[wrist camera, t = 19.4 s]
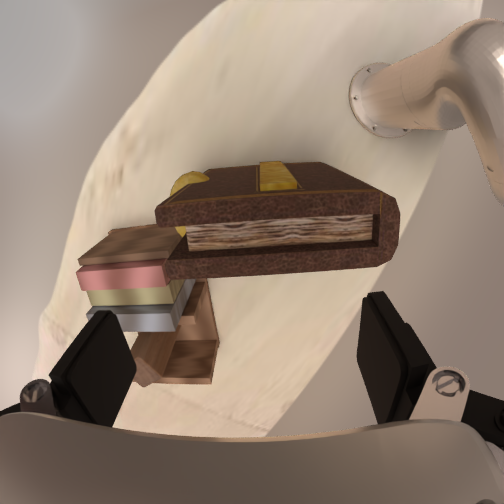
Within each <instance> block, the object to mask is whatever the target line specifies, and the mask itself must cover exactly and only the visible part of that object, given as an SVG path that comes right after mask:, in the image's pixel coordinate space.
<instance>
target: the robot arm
mask: <svg viewBox="0 0 504 504" xmlns="http://www.w3.org/2000/svg"><path fill="white" fill-rule="evenodd" d="M367 70H368V72H367ZM353 97H355V98H356V100H354V99H353ZM349 99H350V104H351V108H352V110H353V113H354V115H355V117H356V118H357V120H358V121H359V122H360V123H361V125H362V126H363V127H364V128H366V129H367V130H368V131H369V132H371V133H373V134H375V135H378V136H381V137H386V138H396V137H401V136H403V135H406V134H407V133H408V132H410V131H411V130H412V129H432V130H453V129H456V128H459V127H461V126H463V125H464V124H467V126H468V129H469V131H470V133H471V134H472V137H473V140H474V142H475V145H476V147H477V150H478V153H479V155H480V158H481V161H482V164H483V167H484V170H485V173H486V176H487V179H488V182H489V185H490V187H491V190H492V192H493V194H494V196H495V198H496V199H497V200H498V202H499V203H500V204H501V205H503V206H504V23H503V22H502V21H499V20H496V19H491V18H481V19H477V20H473V21H470V22H468V23H465V24H464V25H462V26H460V27H459V28H457V29H456V30H454V31H453V32H452V33H451V34H449V35H448V36H447V37H446V38H444V39H443V40H442V41H440V42H439V43H437V44H436V45H434V46H432V47H430V48H428V49H426V50H424V51H422V52H419V53H417V54H415V55H412V56H410V57H408V58H405V59H403V60H401V61H399V62H397V63H394V64H392V65H391V64H386V63H374V64H370V65H368V66H366V67H364V68H362V69H361V70H360V71H359V72H358V73H357V74H356V75H355V76H354V78H353V80H352V82H351V85H350V91H349ZM372 127H374V130H373V129H372ZM403 129H404V130H403ZM357 362H358V365H359V368H360V371H361V374H362V377H363V380H364V382H365V386H366V389H367V392H368V395H369V398H370V401H371V404H372V407H373V410H374V413H375V416H376V420H377V423H378V424H377V425H371V426H365V427H358V428H353V429H345V430H339V431H330V432H321V433H313V434H303V435H293V436H292V435H291V436H276V437H251V438H216V437H192V436H177V435H165V434H156V433H147V432H139V431H131V430H124V429H118V428H112V426H113V424H114V422H115V419H116V417H117V415H118V412H119V410H120V408H121V406H122V403H123V401H124V399H125V396H126V394H127V392H128V390H129V387H130V385H131V383H132V381H133V379H134V376H135V374H136V371H137V366H136V363H135V361H134V358H133V356H132V354H131V351H130V349H129V346H128V344H127V341H126V339H125V336H124V334H123V331H122V328H121V326H120V323H119V320H118V318H117V315H116V314H113V312H112V311H111V310H98V311H96V312H95V314H94V315H93V316H92V317H91V319H90V320H89V321H88V323H87V324H86V325H85V326H84V328H83V329H82V330H81V332H80V333H79V334H78V335H77V337H76V338H75V339H74V341H73V342H72V343H71V345H70V346H69V347H68V349H67V350H66V351H65V353H64V354H63V355H62V357H61V358H60V360H59V361H58V362H57V364H56V365H55V366H54V368H53V369H52V371H51V372H50V373H49V377H50V378H51V380H52V381H51V383H49V382H48V381H47V380H44V379H37V380H33V381H31V382H30V383H28V384H27V385H26V386H25V387H24V388H23V389H22V391H21V394H20V403H18V404H16V405H13V406H11V407H9V408H6V409H4V410H2V411H0V504H504V401H503V400H499V399H496V398H493V397H490V396H487V395H484V394H481V393H478V392H475V391H472V390H470V382H469V379H468V377H467V376H466V374H465V373H463V372H462V371H461V370H459V369H457V368H454V367H448V366H447V367H440V368H436V366H435V364H434V363H433V361H432V359H431V358H430V356H429V354H428V353H427V351H426V349H425V348H424V346H423V345H422V343H421V341H420V340H419V338H418V337H417V335H416V334H415V332H414V330H413V329H412V327H411V326H410V325H409V324H408V323H404V321H403V320H402V318H401V316H400V315H399V313H398V312H397V311H396V309H395V308H394V306H393V304H392V303H391V301H390V300H389V298H388V297H387V295H386V294H385V293H384V292H383V291H380V292H372V293H368V295H367V297H364V298H363V301H362V311H361V321H360V331H359V339H358V348H357Z"/></svg>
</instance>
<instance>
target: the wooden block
mask: <svg viewBox="0 0 504 504" xmlns="http://www.w3.org/2000/svg"><path fill="white" fill-rule="evenodd" d="M180 327H181V325H178V326H177V328H176V331H171V332H138V333H139V335H138V337H137V339H136V341H135V343H134V344H133V346H132V348H131V350H130V351H131V354H132V356H133V358H134V361H135V363H136V366H137V371H136V374H135V376H134V379H133V380H134V381H136V382H137V383H138V384H139V385H141V386H142V387H146V386H148V385H150V384H151V383H153V382H155V381H157V380H159V379H161V378H162V376H163V373H164V371H165V368H166V365H167V362H168V360H169V357H170V354H171V351H172V349H173V346H174V343H175V341H176V338H177V335H178V333H179V330H180Z"/></svg>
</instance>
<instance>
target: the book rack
mask: <svg viewBox="0 0 504 504" xmlns="http://www.w3.org/2000/svg"><path fill="white" fill-rule="evenodd" d="M108 234H109V235H108V236H107V237H105V238H104V239H103V240H101V241H100V242H99V243H98V244H96V245H95V246H94V247H92V248H91V249H90V250H89V251H87V252H86V253H85V254H84V255H82V256H81V257H80V258H79V259H78V261H79V265H80V266H82V267H81V268H80V269H79V270H78V271H77V272H76V275H77V278H78V281H79V284H80V287H81V290H82V291H87V294H88V297H89V300H90V303H91V306H92V308H91V309H90V310H89V311H88V312H87V314H86V316H87V318H88V321H89V320H90V319H91V317H92V316H93V315H94V314H95V312H96V311H98V310H111V311H112V312H113V314H116V315H117V318H118V320H119V323H120V326H121V328H122V331H123V332H171V331H176V328H177V326H178V325H181V327H180V330H179V333H178V335H177V338H176V341H175V343H174V346H173V349H172V351H171V354H170V357H169V360H168V362H167V365H166V368H165V371H164V373H163V376H162V378H161V379H159V380H157V381H155V382H153V383H166V384H211V383H212V377H213V372H214V366H215V361H216V355H217V350H218V348H219V343H220V342H219V338H218V333H217V328H216V323H215V318H214V313H213V308H212V302H211V297H210V292H209V286H208V281H207V278H202V279H182V280H171V279H170V278H168V277H167V275H166V270H165V265H164V264H165V262H166V260H167V259H168V257H169V256H170V255H171V253H172V252H173V250H174V249H175V247H176V246H177V245H178V243H179V242H180V240H181V239H182V238H183V237H182V236H181V235H180V234H179V233H178V232H177V230H176V228H175V227H169V228H160V227H159V226H158V225H157V224H153V225H145V226H137V227H129V228H121V229H114V230H111V231H109V232H108ZM138 335H139V333H138ZM132 382H136V381H134V380H133V381H132Z"/></svg>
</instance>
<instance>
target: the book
mask: <svg viewBox="0 0 504 504" xmlns="http://www.w3.org/2000/svg"><path fill="white" fill-rule="evenodd" d="M155 216H156V222H157V225H158V226H159V227H160V228H169V227H175V228H176V230H177V232H178V233H179V234H180V235H181V236H182V237H183V238H182V239H181V240H180V242H179V243H178V245H177V246H176V247H175V249H174V250H173V252H172V253H171V255H170V256H169V257H168V259H167V260H166V262H165V264H164V265H165V270H166V275H167V277H168V278H170V279H171V280H182V279H202V278H222V277H240V276H257V275H273V274H288V273H303V272H317V271H331V270H344V269H356V268H369V267H377V266H379V265H382V264H384V263H386V262H388V261H390V260H391V259H392V257H393V255H394V253H395V250H396V248H397V246H398V240H399V227H400V211H399V208H398V205H397V202H396V199H395V198H394V197H392V196H390V195H388V194H386V193H384V192H382V191H380V190H378V189H376V188H375V187H373V186H371V185H369V184H367V183H365V182H363V181H361V180H359V179H357V178H354V177H352V176H350V175H348V174H346V173H344V172H342V171H340V170H338V169H336V168H333V167H331V166H329V165H327V164H324V163H321V162H306V163H284V164H282V162H281V161H271V162H260V165H252V166H239V167H228V168H217V169H209V170H207V171H206V172H204V173H203V174H202V173H201V172H194V171H192V172H189V173H186V174H184V175H182V176H181V177H180V178H179V179H178V180H177V181H176V182H175V184H174V186H173V188H172V189H171V194H170V197H169V198H167V199H166V200H165V201H163V202H162V203H161V204H159V205H158V206H157V207H156V209H155Z"/></svg>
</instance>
